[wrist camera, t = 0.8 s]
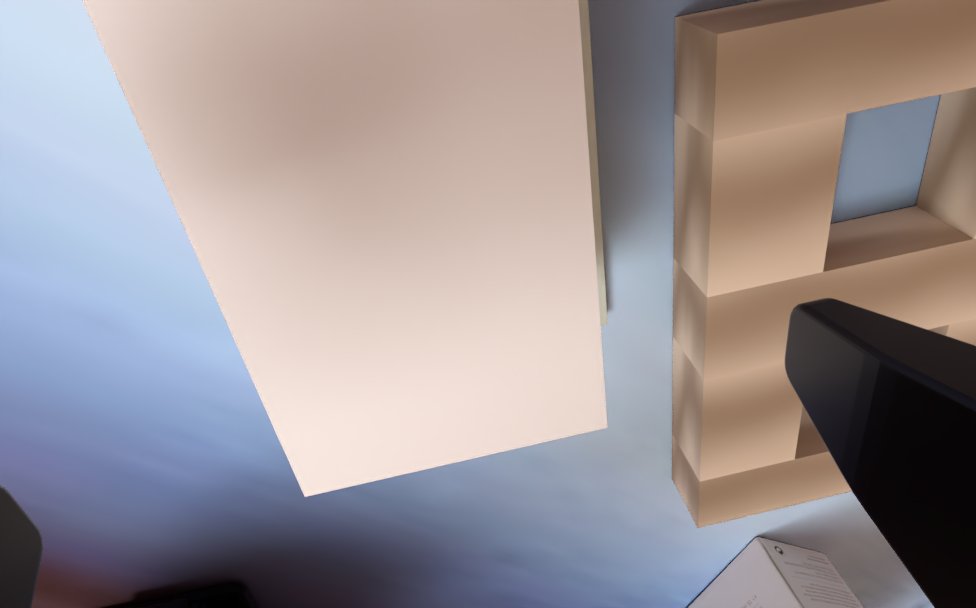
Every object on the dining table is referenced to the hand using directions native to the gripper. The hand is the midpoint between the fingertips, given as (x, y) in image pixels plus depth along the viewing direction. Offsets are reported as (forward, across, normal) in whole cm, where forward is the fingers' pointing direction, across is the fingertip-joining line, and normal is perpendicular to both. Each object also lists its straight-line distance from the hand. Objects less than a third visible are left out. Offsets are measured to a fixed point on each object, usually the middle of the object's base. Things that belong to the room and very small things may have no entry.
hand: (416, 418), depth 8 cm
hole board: (+12, -14, +8) cm, 20 cm away
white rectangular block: (+12, 0, 0) cm, 12 cm away
